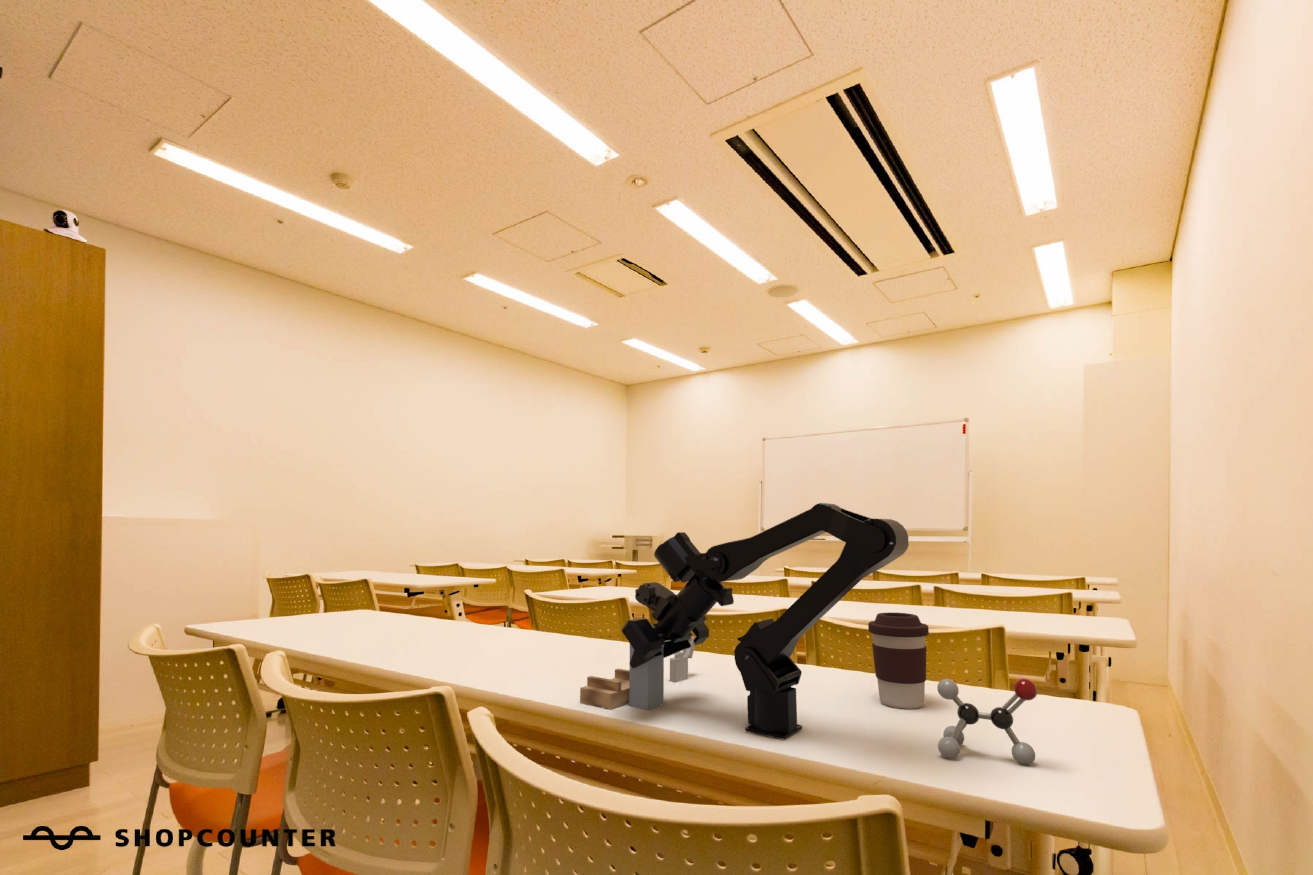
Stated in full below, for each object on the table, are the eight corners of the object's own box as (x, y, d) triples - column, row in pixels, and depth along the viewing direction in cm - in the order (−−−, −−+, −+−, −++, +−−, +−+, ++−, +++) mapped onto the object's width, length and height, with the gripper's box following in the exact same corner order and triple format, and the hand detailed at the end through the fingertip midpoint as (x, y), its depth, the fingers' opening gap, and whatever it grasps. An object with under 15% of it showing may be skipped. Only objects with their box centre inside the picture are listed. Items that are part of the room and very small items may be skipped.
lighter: (676, 682, 125) (676, 640, 126) (669, 680, 126) (669, 639, 127) (697, 675, 131) (696, 635, 132) (690, 674, 132) (689, 634, 133)
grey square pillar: (663, 703, 110) (663, 626, 111) (647, 709, 106) (648, 629, 108) (645, 699, 112) (645, 624, 114) (629, 705, 108) (629, 627, 110)
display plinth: (653, 694, 116) (653, 671, 116) (610, 709, 106) (610, 684, 107) (624, 688, 120) (624, 666, 120) (580, 702, 110) (580, 678, 111)
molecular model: (945, 741, 90) (940, 663, 92) (1043, 757, 84) (1036, 673, 86) (937, 759, 83) (932, 675, 85) (1043, 777, 77) (1036, 686, 79)
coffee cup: (946, 708, 107) (940, 616, 109) (899, 714, 103) (895, 619, 106) (903, 694, 116) (899, 609, 118) (859, 699, 112) (855, 612, 115)
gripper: (694, 564, 117) (647, 621, 122) (631, 569, 103) (580, 633, 108) (732, 611, 112) (680, 668, 117) (670, 624, 97) (615, 689, 102)
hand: (640, 663), depth 111 cm, fingers closed on grey square pillar, 4 cm apart
